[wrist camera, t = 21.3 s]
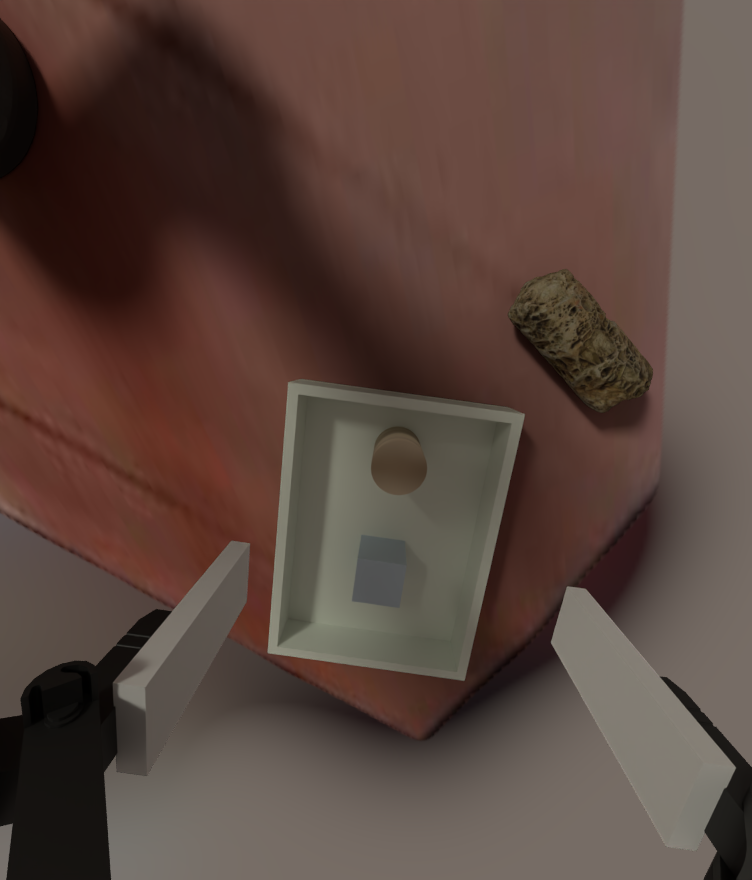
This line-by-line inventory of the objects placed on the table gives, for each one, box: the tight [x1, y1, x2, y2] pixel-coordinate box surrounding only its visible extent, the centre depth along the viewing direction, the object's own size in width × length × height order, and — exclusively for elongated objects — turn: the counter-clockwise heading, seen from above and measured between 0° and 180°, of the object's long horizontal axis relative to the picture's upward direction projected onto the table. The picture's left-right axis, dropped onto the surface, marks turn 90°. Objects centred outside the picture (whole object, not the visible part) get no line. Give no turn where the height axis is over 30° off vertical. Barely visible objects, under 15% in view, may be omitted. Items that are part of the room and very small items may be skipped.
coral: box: [508, 269, 653, 413], centre depth 34 cm, size 14×6×6 cm, turn 45°
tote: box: [268, 379, 525, 681], centre depth 39 cm, size 22×30×5 cm
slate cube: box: [352, 535, 407, 608], centre depth 40 cm, size 5×5×5 cm
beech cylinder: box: [371, 426, 427, 495], centre depth 36 cm, size 5×5×7 cm
